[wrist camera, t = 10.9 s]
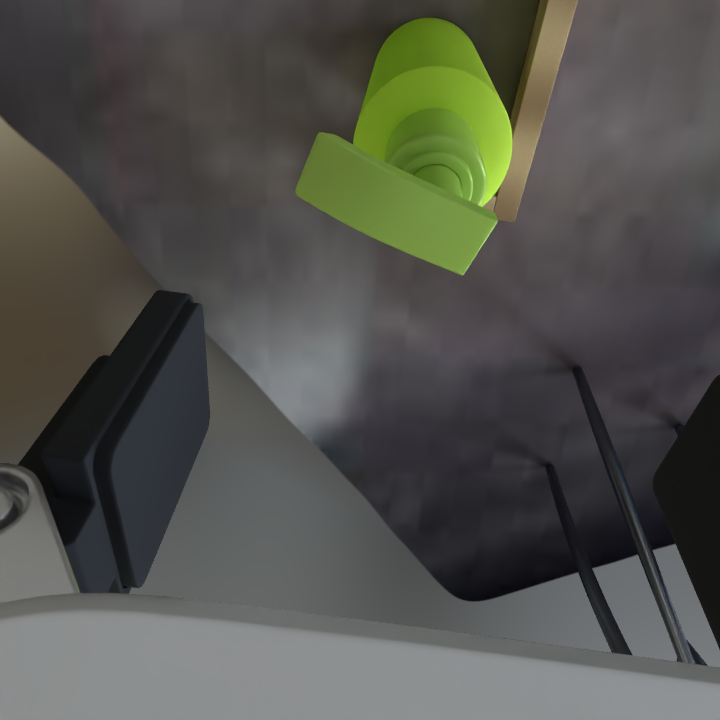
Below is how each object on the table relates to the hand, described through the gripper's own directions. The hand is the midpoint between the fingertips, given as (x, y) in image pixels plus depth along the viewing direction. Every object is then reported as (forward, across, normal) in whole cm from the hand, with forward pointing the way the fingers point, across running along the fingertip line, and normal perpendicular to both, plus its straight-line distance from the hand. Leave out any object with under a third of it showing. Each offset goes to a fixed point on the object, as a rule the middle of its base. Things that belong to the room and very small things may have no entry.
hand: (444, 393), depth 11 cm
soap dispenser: (+27, 0, 0) cm, 27 cm away
